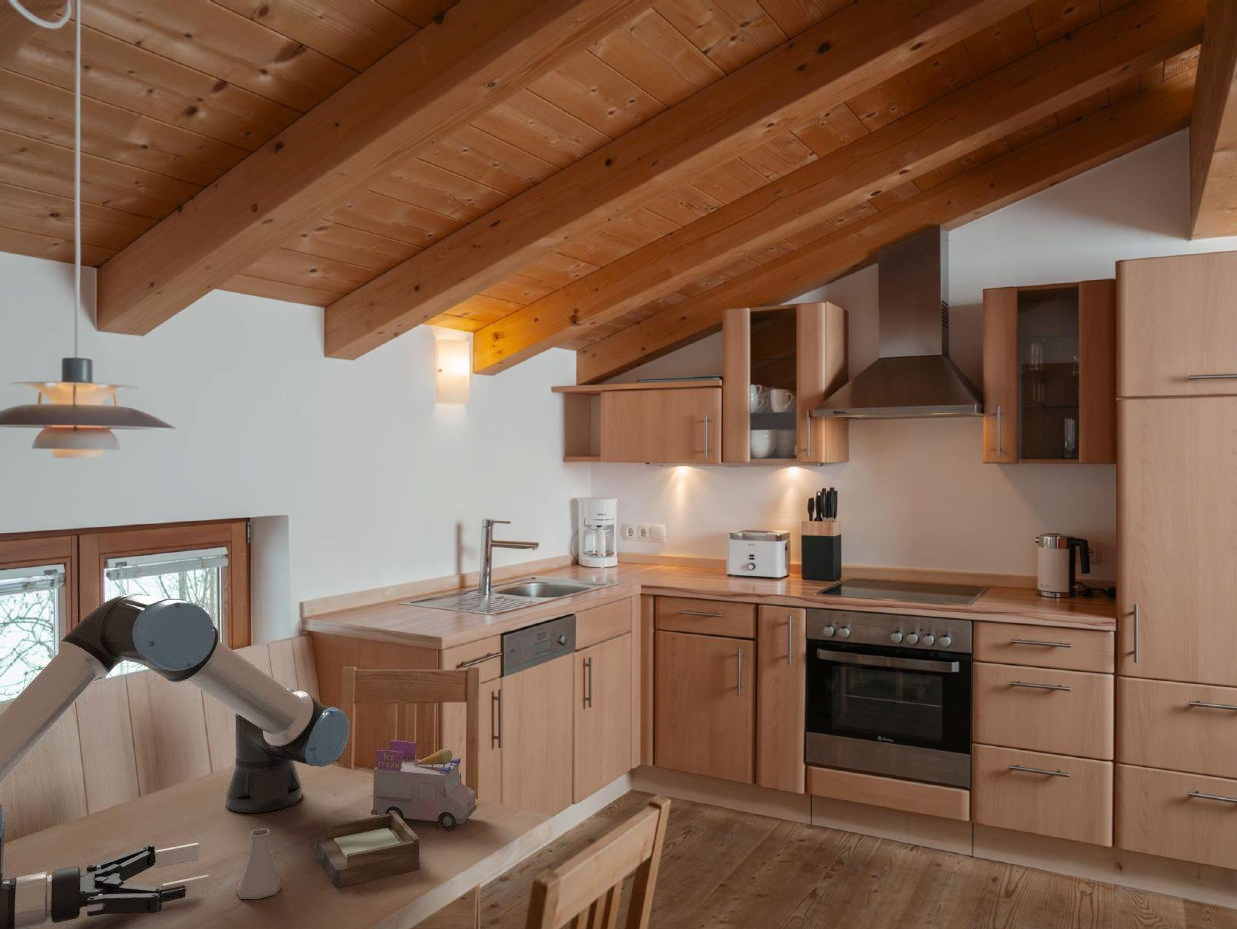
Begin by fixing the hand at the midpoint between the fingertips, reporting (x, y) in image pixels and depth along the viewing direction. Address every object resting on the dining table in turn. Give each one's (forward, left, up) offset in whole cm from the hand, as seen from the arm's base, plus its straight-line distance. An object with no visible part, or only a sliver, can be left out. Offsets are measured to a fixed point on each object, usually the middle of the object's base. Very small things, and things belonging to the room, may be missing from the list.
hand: (203, 866), depth 148 cm
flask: (0, +9, -6) cm, 11 cm away
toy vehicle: (-15, +43, -6) cm, 46 cm away
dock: (-2, +28, -6) cm, 28 cm away
